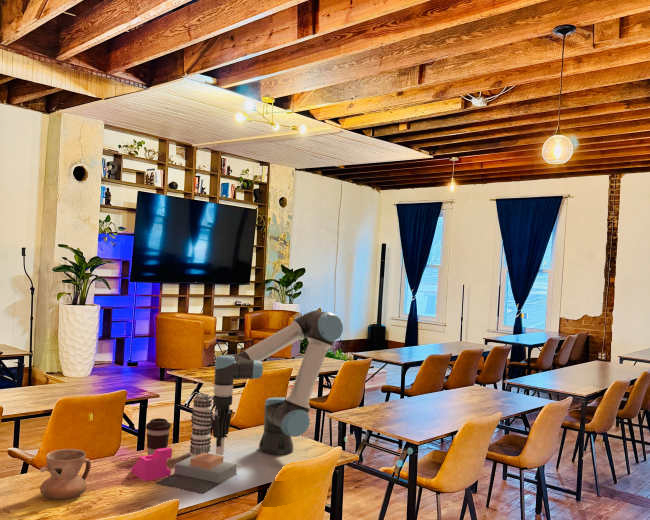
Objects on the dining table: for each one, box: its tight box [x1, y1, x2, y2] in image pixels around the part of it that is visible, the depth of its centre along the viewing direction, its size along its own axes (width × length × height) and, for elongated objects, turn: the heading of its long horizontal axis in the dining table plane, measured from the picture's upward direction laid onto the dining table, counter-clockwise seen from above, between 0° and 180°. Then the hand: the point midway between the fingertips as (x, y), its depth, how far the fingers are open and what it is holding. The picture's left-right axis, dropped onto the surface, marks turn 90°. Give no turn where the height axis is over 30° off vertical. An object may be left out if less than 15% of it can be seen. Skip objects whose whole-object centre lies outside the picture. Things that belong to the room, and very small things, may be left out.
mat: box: [155, 473, 228, 495], centre depth 224 cm, size 16×20×1 cm
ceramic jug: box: [39, 448, 92, 501], centre depth 205 cm, size 18×14×14 cm
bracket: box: [130, 446, 173, 482], centre depth 230 cm, size 12×10×10 cm
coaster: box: [190, 453, 224, 469], centre depth 233 cm, size 9×9×2 cm
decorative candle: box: [189, 393, 214, 457], centre depth 257 cm, size 9×9×25 cm
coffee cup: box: [145, 417, 172, 455], centre depth 251 cm, size 10×10×15 cm
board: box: [173, 455, 238, 484], centre depth 232 cm, size 12×20×4 cm, turn 68°
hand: (219, 453), depth 241 cm, fingers closed
